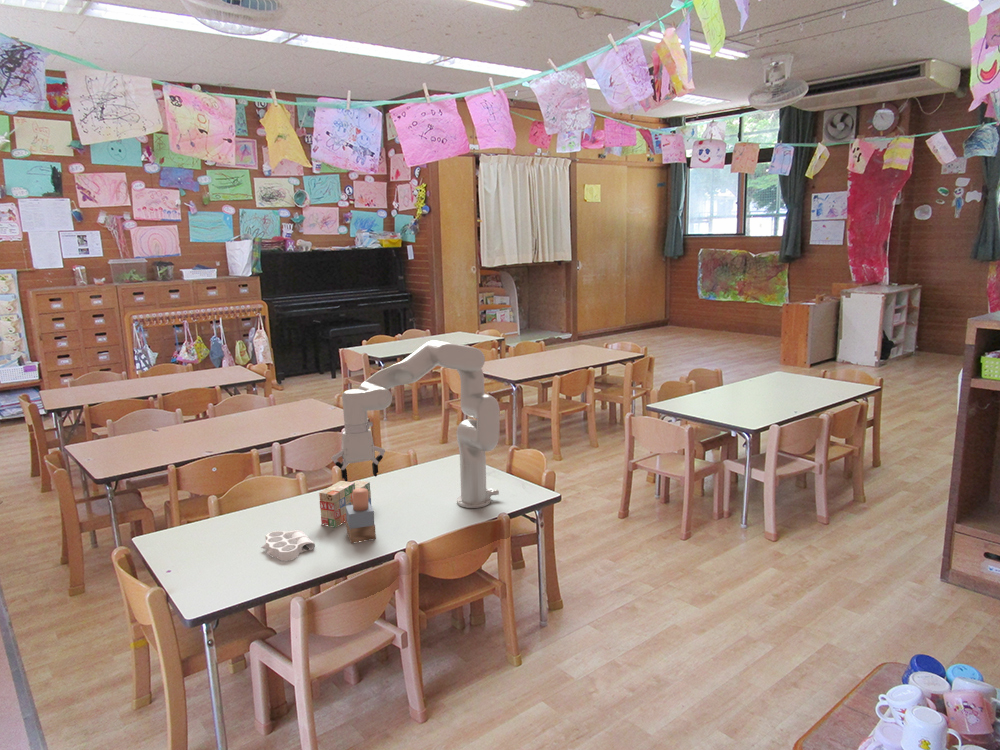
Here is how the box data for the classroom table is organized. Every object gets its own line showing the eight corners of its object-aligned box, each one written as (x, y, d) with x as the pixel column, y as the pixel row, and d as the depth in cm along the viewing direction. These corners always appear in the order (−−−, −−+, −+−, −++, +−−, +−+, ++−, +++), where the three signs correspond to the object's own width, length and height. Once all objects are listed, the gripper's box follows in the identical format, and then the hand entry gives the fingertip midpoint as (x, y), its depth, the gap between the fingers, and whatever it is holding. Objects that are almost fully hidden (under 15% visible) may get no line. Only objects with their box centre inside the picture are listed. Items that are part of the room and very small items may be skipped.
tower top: (370, 516, 236) (369, 502, 235) (374, 525, 229) (373, 510, 228) (346, 519, 234) (345, 505, 233) (349, 529, 226) (349, 514, 225)
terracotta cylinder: (366, 504, 234) (366, 487, 232) (369, 509, 229) (369, 492, 228) (351, 506, 232) (351, 489, 231) (354, 511, 227) (354, 494, 226)
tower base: (370, 530, 237) (370, 516, 236) (375, 539, 230) (375, 525, 229) (347, 534, 234) (346, 520, 233) (351, 543, 227) (350, 529, 226)
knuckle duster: (318, 553, 221) (272, 566, 213) (299, 534, 236) (255, 545, 228) (318, 543, 221) (271, 556, 213) (299, 524, 235) (255, 535, 227)
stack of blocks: (357, 503, 261) (355, 472, 258) (371, 505, 258) (369, 474, 256) (321, 525, 242) (318, 491, 239) (335, 528, 239) (333, 494, 237)
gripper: (380, 421, 231) (383, 469, 235) (327, 428, 225) (331, 478, 229) (385, 426, 225) (389, 477, 228) (331, 434, 218) (335, 485, 222)
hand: (360, 477), depth 228 cm, fingers open, 9 cm apart
